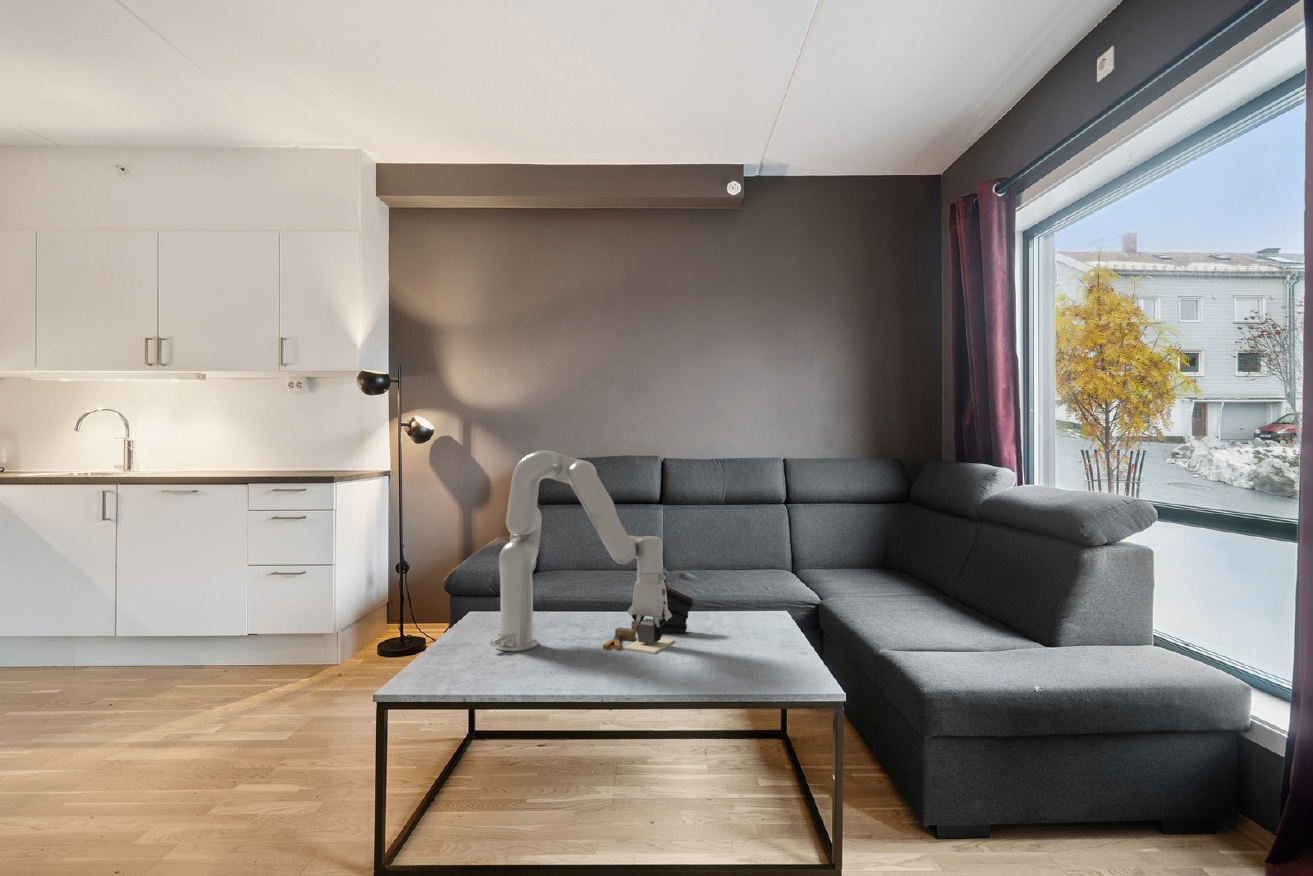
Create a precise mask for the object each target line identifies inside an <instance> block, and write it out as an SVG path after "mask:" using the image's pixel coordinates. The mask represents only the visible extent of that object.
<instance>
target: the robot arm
mask: <svg viewBox="0 0 1313 876" xmlns="http://www.w3.org/2000/svg"><path fill="white" fill-rule="evenodd" d="M544 479H551V480H555V481H558V482H561V483H566V484H569V486H570V487H571V489H572V491H573V492H574V494H575V495H576V497H577V498H578V500H579V502H580V504H581V505H582V507H583V509H584V510H585V512H586V514H587V515H588V518H589V520H590V522H591V523H592V524H591V525H593V527H594V529H595V531H596V533H597V535H598V536H599V539H600V540H601V542H602V544H603V546H604V547H605V549H606V551H607V552H608V555H610V557H611V559H613V561H614V562H616V563H617V564H620V565H627V564H629V563H631V562H632V561H633V560H634V559H636V563H637V564H636V581H635V582H634V587H633V592H632V593H633V595H632V604H631V605H630V607H629V608H628V610H627V613H628V614H629V616H631V618H632V619H633V621H635V623H636V624H637V631H636V635H638V624H640V623H641V621H643V620H645V619H644V618H645V617H649V618H650V617H652V618H653V617H654V619H655V623H656V627H655V641H657V640H659V639H661V638H663V634H662V625H663V624H664V623H665V622H666V621H667V620H669V619H670V618H671V617H672V614H671V613H670V611H669V610H668V603H667V593H666V587H665V586H666V583H665V581H664V580H666V578H667V577H666V575H665V574H663V556H662V555H663V542H662V538H661V537H660V536H653V535H647V536H636V535H628V533H627V531H626V529H625V528H624V527H623V524H622V523H621V520H620V518H619V517H618V513H617V511H616V506H615V503H614V501H613V499H612V497H611V495H610V494H609V492H608V491H607V489H606V488H605V486H604V485H603V483H602V482H601V479H600V477H599V476H598V472H597V469H596V467H595V465H594V464H593V463H591V462H590V461H587V460H582V459H579V458H576V457H573V456H569V455H567V454H566V455H565V454H562V453H561V452H560V453H559V452H556V451H552V450H545V449H543V450H537V451H534V452H532V453H530V454H527V455H526V456H523V458H522V459H521V460H520V461H519V462H518V463H517V465H516V466H515V468H514V469H513V472H512V476H511V482H510V490H509V496H508V503H507V512H506V518H505V524H506V525H505V526H506V528H507V530H508V532H509V533H510V535H509V542H507V543H506V544H504V546H503V547H502V549H501V550H500V552H499V556H498V567H499V577H500V578H499V579H500V580H499V581H500V585H499V587H500V588H499V589H500V632H499V633H498V637H496V638H494V639H491V640H490V643H489V644H490V646H491V647H495V648H496V649H497V650H500V651H502V652H503V651H505V652H521V651H527V650H530V649H533V648H536V647H537V645H538V643H539V640H538V639H537V638H536V637H533V635H534V634H533V632H534V631H533V630H534V628H533V626H534V622H533V619H534V618H533V617H534V613H533V612H534V609H533V608H534V605H533V604H534V603H533V602H534V601H533V600H534V596H533V595H534V594H533V585H534V584H533V571H532V568H533V567H532V565H533V564H534V563H535V561H536V559H537V558H538V555H539V548H540V540H541V532H542V522H543V520H542V519H543V516H542V513H541V510H540V509H539V508H538V498H539V491H540V490H539V487H540V486H539V485H540V482H541V481H542V480H544ZM664 614H665V617H664V618H662V615H664Z"/></svg>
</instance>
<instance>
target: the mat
mask: <svg viewBox="0 0 1313 876" xmlns="http://www.w3.org/2000/svg"><path fill="white" fill-rule="evenodd" d="M675 642H676V639H673V638H667V637H666V638H665V637H661V640H659V641H658V642H656V643H654V644H650V643H643V642H638V639H636V641H635V640H634V641H632V642H631V643H630V644H628V645H626V646H624V647H623V651H624V650H625V651H631V652H636V653H637V652H638V653H645V654H651V655H655V654H657V653H658V652H660V651H662V650H663V649H665V648H667V647H668V646H670V645H672V644H673V643H675Z"/></svg>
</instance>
